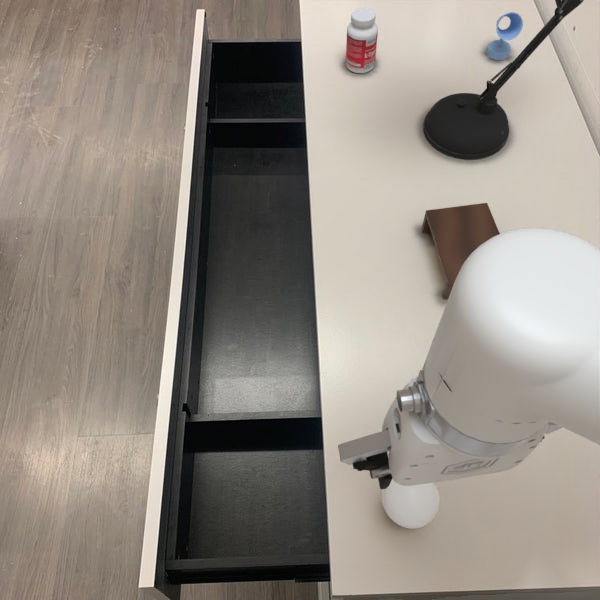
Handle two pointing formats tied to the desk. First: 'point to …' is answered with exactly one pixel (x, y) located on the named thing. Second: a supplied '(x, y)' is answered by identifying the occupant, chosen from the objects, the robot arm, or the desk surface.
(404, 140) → the desk surface
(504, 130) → the desk lamp
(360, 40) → the pill bottle
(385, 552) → the desk surface
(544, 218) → the desk surface
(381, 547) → the desk surface
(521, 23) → the spotlight
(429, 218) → the brown wooden stand
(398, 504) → the lightbulb
